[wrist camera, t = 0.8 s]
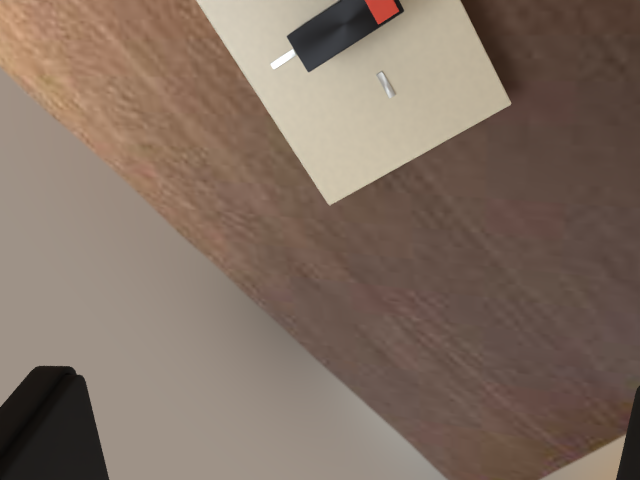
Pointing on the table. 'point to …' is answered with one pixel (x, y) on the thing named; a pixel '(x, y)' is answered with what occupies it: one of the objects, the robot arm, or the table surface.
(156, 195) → the table surface
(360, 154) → the panel
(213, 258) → the table surface
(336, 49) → the knob
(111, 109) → the table surface
